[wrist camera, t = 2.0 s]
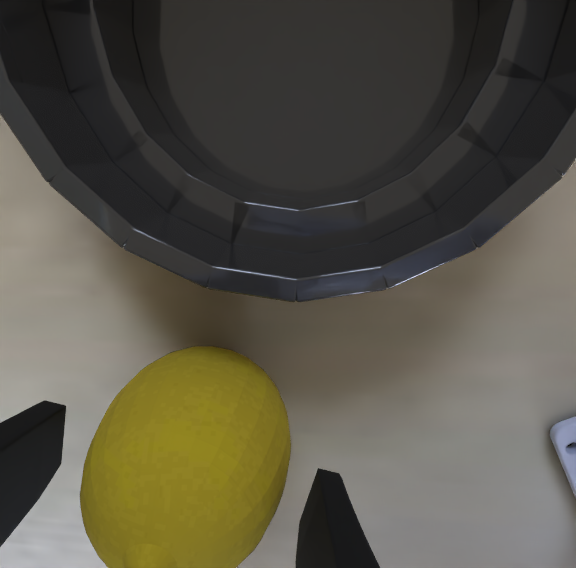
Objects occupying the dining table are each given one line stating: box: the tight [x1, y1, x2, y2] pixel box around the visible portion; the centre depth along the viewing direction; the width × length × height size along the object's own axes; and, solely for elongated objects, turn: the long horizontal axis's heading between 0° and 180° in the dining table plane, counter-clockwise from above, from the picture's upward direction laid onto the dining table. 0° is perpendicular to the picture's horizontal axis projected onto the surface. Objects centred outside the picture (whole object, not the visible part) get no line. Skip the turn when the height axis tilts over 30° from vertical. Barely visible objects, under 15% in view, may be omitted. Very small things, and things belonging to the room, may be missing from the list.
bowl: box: [0, 0, 576, 302], centre depth 10 cm, size 13×13×5 cm
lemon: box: [80, 346, 291, 568], centre depth 12 cm, size 6×6×8 cm
